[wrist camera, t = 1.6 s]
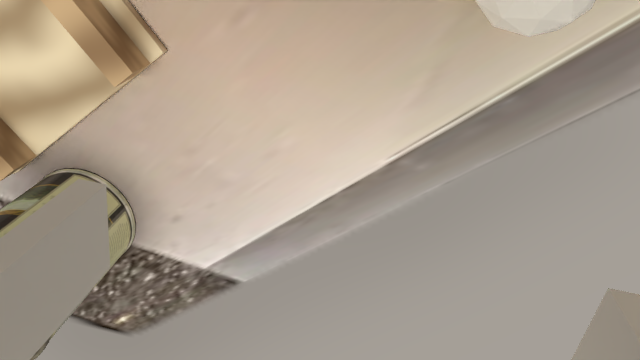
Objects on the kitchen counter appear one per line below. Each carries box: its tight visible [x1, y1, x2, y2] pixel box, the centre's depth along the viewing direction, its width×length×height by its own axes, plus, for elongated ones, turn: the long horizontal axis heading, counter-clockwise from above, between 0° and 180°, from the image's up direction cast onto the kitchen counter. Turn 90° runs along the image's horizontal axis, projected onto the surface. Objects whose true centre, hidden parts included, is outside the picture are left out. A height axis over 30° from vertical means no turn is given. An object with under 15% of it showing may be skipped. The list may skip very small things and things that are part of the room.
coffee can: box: [0, 169, 136, 360], centre depth 43 cm, size 10×10×14 cm
